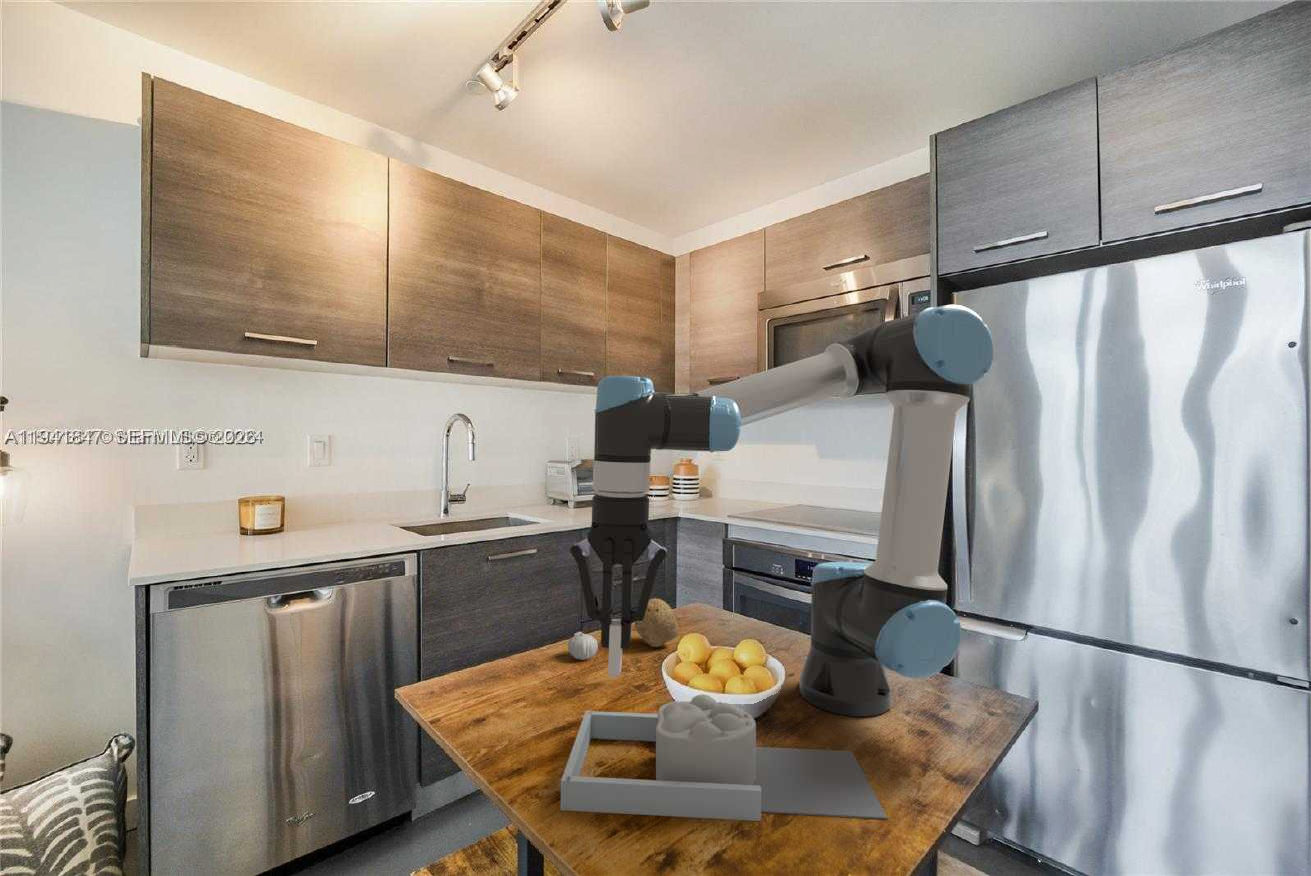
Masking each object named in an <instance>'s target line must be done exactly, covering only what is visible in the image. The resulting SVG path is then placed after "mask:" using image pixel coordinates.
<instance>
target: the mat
mask: <svg viewBox="0 0 1311 876" xmlns="http://www.w3.org/2000/svg"><path fill="white" fill-rule="evenodd" d="M753 785H757V786H761V791H762V792H761V814H762V813H764V814H766V813H767V814H782V815H783V814H784V815H799V816H801V815H803V816H820V817H822V816H823V817H836V818H837V817H840V818H856V819H857V818H858V819H875V820H888V815H887V813H886V812H885V809H884V808H883V806H882V804H881V803H880V801H879V799H878V797H877V795H876V793H875V791H874V789H873V787H872V786H871V784H870V782H869V781H868V779H867V777H866V775H865V772H864V771H863V769H862V767H861V766H860V763H859V762H858V760H857V758H856V756H855V755H854V752H853V751H851V750H850V751H849V750H831V749H813V748H811V749H809V748H808V749H807V748H792V747H791V748H789V747H771V746H770V747H767V746H756V780H755V782H754V783H753Z"/></svg>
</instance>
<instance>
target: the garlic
mask: <svg viewBox="0 0 1311 876" xmlns="http://www.w3.org/2000/svg"><path fill="white" fill-rule="evenodd" d="M598 648H599V646H598V640H597V639H596V638H594V636H592V635H591V634H587V633H583V632H582V631H578V632H576V633H574V634H573V637H570V639H569V640H568V642H567V650H568V652H569V654H570V655H571V657H573V658H574V659H576V660H579V661H585V660H588V659H591V658H593V657H594V656H595V655H596V654H597V652H598Z"/></svg>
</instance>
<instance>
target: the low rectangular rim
mask: <svg viewBox="0 0 1311 876" xmlns="http://www.w3.org/2000/svg"><path fill="white" fill-rule="evenodd" d="M657 724H658V713H644V712H643V713H641V712H640V713H639V712H638V713H637V712H621V711H620V712H618V711H617V712H616V711H597V710H594V711H593V710H585V712H584V715H583V718H582V721H581V722H580V726H579V728H578V733H577V735H576V738H575V741H574V743H573V746H572V749H571V751H570V754H569V757H568V760H567V763H566V765H565V768H564V772H563V775H562V777H561V780H560V811H568V812H569V811H570V812H585V813H586V812H587V813H604V814H606V813H607V814H624V815H625V814H626V815H627V814H628V815H643V816H657V817H658V816H660V817H677V818H678V817H680V818H695V819H697V818H698V819H699V818H700V819H715V820H716V819H717V820H735V821H736V820H737V821H739V820H740V821H750V822H751V821H757V822H762V813H761V792H762V791H761V786H757V785H737V784H718V783H698V782H678V781H659V780H656V779H655V780H653V779H637V778H618V777H617V778H616V777H597V776H596V777H595V776H580V775H581V772H582V769H583V765H584V762H585V759H586V756H587V753H588V749H589V746H590V743H591V739H594V738H595V740H597V739H596V738H598V740H599V739H600V740H615V741H616V740H617V741H635V742H636V741H638V742H656V727H657Z"/></svg>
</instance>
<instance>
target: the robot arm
mask: <svg viewBox="0 0 1311 876" xmlns="http://www.w3.org/2000/svg"><path fill="white" fill-rule="evenodd" d="M991 333H992V332H991V331H990V329H989V327H988V325H987V324H985V323H984V322H983V320H982V317H980V316H979V315H978V314H977V313H976V312H975V311H973V309H969V307H968V308H967V307H966V306H963V305H959V304H958V305H957V304H947V305H941V306H932V307H928V308H925V309H924V310H922V311H919V312H915V313H913V314H909V315H906V316H905V315H904V316H903V317H899V318H895V319H892V320H888V321H885V322H881V323H880V324H878V325H875V326H873V327H871V328H868V329H866V330H865V331H862V332H860V333H858V334H856V335H854V336H851V337H849V338H846V339H844V340H841V341H837V342H835V343H832V344H829V345H828V346H827V347H826V348H825V349H824V352H822V353H819V354H816V355H815V354H814V355H813V356H810V357H806V358H803V359H800V360H796V361H794V362H793V361H792V362H789V363H786V364H783V365H780V366H776V367H774V368H770V369H768V370H763V371H760V372H757V373H755V374H754V373H753V374H751V375H747V376H744V377H741V378H738V379H735V380H731V381H728V382H726V383H725V382H724V383H721V384H719V385H715V386H711V387H709V388H706V389H702V390H699V391H695V392H693V393H690V394H685V395H674V394H673V395H672V394H661V393H658V392H657V393H656V392H655V389H654V382H653V380H651V378H649V377H645V376H636V375H609V376H605V377H603V378H601V379H600V380H599V381H598V383H597V391H596V403H595V409H594V443H593V444H594V445H593V446H594V447H593V448H594V450H593V451H594V452H593V454H594V455H593V456H594V458H593V473H592V489H593V491H596V494H593V496H592V501H591V502H592V503H591V504H592V505H591V506H592V507H591V524H590V525H591V526H590V528H589V531H588V532H587V536H586V538H585V539H583V540H581V541H580V542H575V543H574V544H573V545H572V546H571V547H570V548H569V549H570V550H569V552H570V554H571V556H572V557H573V559H574V560H575V562H576V565H577V567H578V568H577V569H578V574H579V579H580V584H581V588H582V592H583V593H582V594H583V598H584V601H585V602H584V603H585V607H586V612H587V613H586V614H587V616H588V618H589V619H591V620H594V619H595V620H596V621H599V622H600V625H601V629H600V630H601V632H600V633H601V635H600V645H601V648H605V649H607V648H608V662H607V663H608V667H607V676H610V677H612V676H613V677H620V675H621V671H622V669H623V668H622V665H623V649H625V650H626V649H629V647H630V645H631V642H632V641H631V640H632V625H633V623H635V621H642V620H643V619H644V616H645V612H646V609H647V605H648V602H649V600H650V599H651V593H652V590H653V586H654V584H655V580H656V577H657V572H658V569H659V567H660V565H661V564H662V563H663V561H664V560H665V558H666V557H667V551H668V550H667V547H666V546H664V545H659V544H658V543H657V542H656V541H654V540H653V537H652V533H651V532H650V528H649V517H650V514H649V512H650V498H649V497H648V495H646V493H648V492H649V491H650V485H651V483H650V482H651V457H652V456H651V455H652V450H656V451H663V450H666V451H667V450H669V451H683V452H684V451H687V452H689V451H690V452H709V453H715V452H729V451H731V450H733V449H734V448H735V447H736V445H737V443H738V440H739V439H740V435H741V427H743V426H747V425H749V424H752V423H756V422H759V421H762V420H765V419H768V418H771V417H774V416H778V415H780V414H784V413H787V412H789V411H794V410H795V409H798V408H802V407H804V406H809V405H812V404H814V403H818V402H821V401H824V400H827V399H830V398H834V397H836V396H838V397H839V398H842V399H849V398H852V397H855V396H860V395H865V394H868V393H878V392H879V393H880V392H885V393H884V396H885V398H887V400H888V401H889V402H890V403H891V404H892V407H893V414H892V416H893V417H892V422H891V431H890V440H889V448H888V456H887V464H886V474H885V481H884V489H883V497H882V504H881V506H882V508H881V515H880V522H879V530H878V539H877V549H876V555H875V556H876V557H875V561H874V562H872V563H870V562H860V561H859V562H857V561H830V562H822V563H818V564H816V565H815V567H814V568H813V570H812V578H811V583H810V586H811V610H810V611H811V613H810V616H811V617H810V620H811V622H810V646H809V650H808V653H807V656H806V659H805V660H804V664H803V667H802V668H801V669H802V670H801V673H800V676H799V689H798V690H799V693H800V695H801V696H802V697H803V698H804V699H805V700H806V701H807V702H808V703H810V704H812V705H813V706H814V707H815V706H816V707H818V708H820V709H822V710H824V711H827V712H831V713H834V714H839V715H843V716H850V717H873V716H878V715H881V714H884V713H885V712H887V711H889V710H890V708H891V706H892V688H891V684H890V681H889V678H888V673H887V671H886V669H887V670H889V671H891V672H895V673H897V674H899V675H901V676H903V677H905V678H909V679H918V680H920V679H926V678H929V677H932V676H935V675H937V674H938V673H940V672H941V671H942V670H943V668H944V667H947V666H948V665H949V664H950V663H951V662H952V660H953V659H954V658H955V657H956V655H957V653H958V650H959V647H960V644H961V640H962V627H961V622H960V620H959V619H958V618H957V615H956V613H955V611H953V609H951V607H950V606H948V605H947V604H946V603H947V594H948V584H947V583H946V582H945V580H944V579H943V578H942V577H941V575H940V574H939V565H940V563H939V562H940V555H941V546H942V538H943V537H942V536H943V528H944V522H945V521H944V519H945V513H946V512H945V511H946V504H947V503H946V502H947V495H948V487H949V477H950V471H951V461H952V452H953V444H954V435H955V427H956V419H957V417H956V416H957V412H958V411H959V410H960V409H961V408H963V407H964V406H965V405H967V404H969V402H970V400H971V399H970V398H971V391H972V384H974V383H976V382H977V381H979V380H981V379H983V377H984V376H985V374H986V373H988V372H989V371H990V369H991V367H992V365H993V361H994V356H995V345H994V341H993V336H992V334H991ZM591 548H592V549H593V551H594V553H595V554H596V556H598V559H599V560H600V561H601V562H602V590H601V606H600V603H599V598H598V594H597V590H596V584H595V583H596V582H595V578H594V574H593V569H592V564H591V558H590V557H589V555H590V554H591ZM647 549H648V554H647V556H648V559H649V560H650V561H649V564H648V567H647V568H648V569H647V571H646V575H645V578H644V581H643V586H642V588H641V589H642V590H641V592H640V596H639V598H638V599H639V600H638V603H637V607H636V608H634V609H633V593H634V587H633V586H634V567H635V565H634V564H635V563H636V562H638V561H639V559H640V557H641V556H642V555H643V553H644V552H645V551H646V550H647ZM616 565H621V566H622V568H621V569H622V570H621V572H622V580H621V586H622V587H621V609H620V610H621V612H620V619H619V618H618V619H617V618H613V615H614V593H615V592H614V590H615V589H614V587H615V585H614V584H615V567H616Z"/></svg>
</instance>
